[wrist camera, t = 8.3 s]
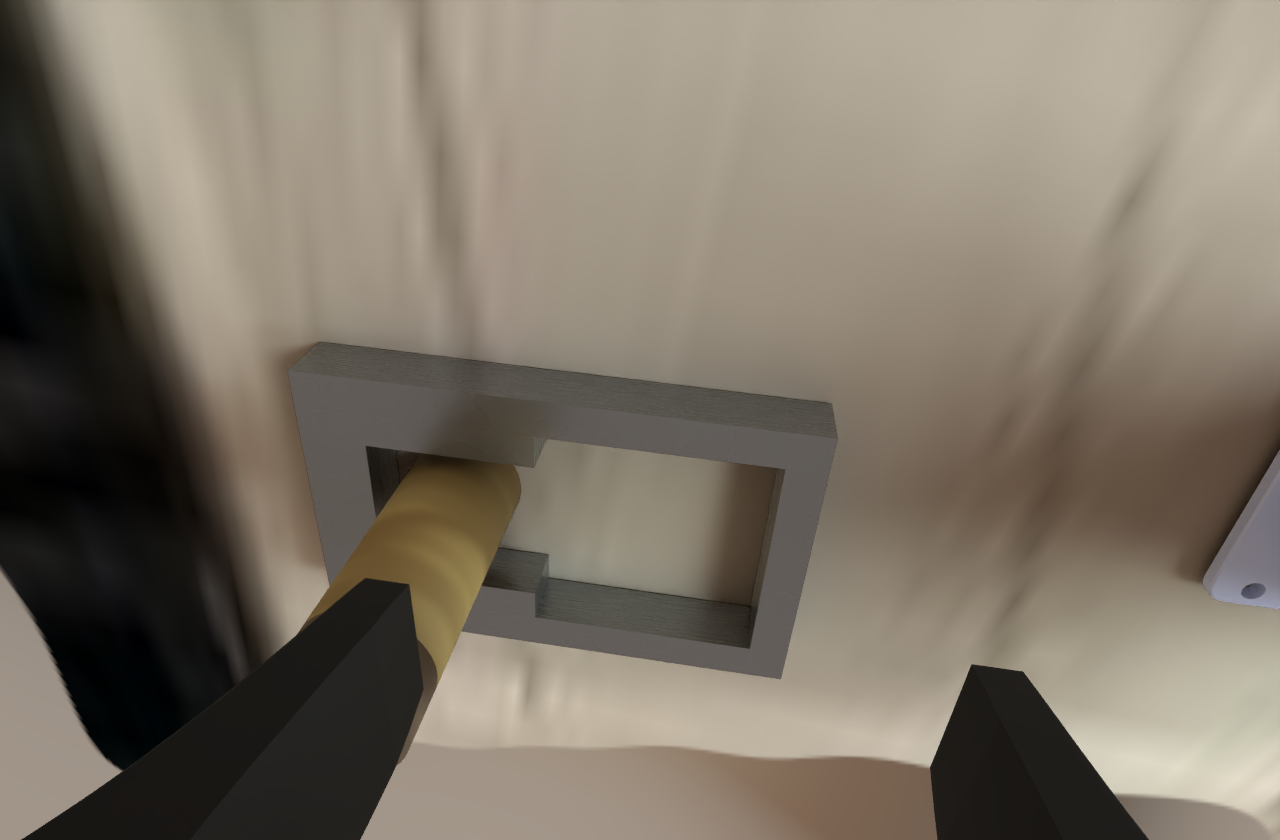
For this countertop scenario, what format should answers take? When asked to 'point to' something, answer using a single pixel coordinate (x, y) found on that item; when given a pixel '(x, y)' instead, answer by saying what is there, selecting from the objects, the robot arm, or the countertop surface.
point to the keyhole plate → (515, 435)
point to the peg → (434, 552)
